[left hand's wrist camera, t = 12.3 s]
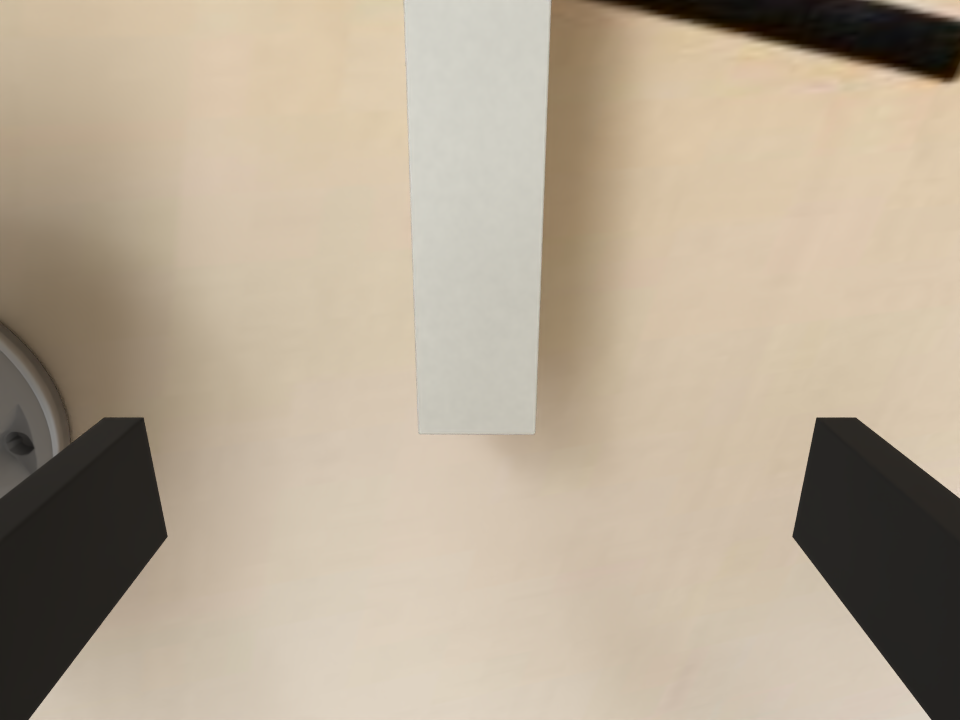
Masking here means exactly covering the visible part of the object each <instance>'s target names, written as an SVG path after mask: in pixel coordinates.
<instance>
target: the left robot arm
mask: <svg viewBox="0 0 960 720" xmlns="http://www.w3.org/2000/svg"><path fill="white" fill-rule="evenodd" d="M166 538H167V532H166V527H165V522H164V517H163V512H162V507H161V502H160V497H159V492H158V487H157V482H156V477H155V472H154V467H153V462H152V457H151V452H150V447H149V442H148V438H147V433H146V428H145V423H144V418H103V419H102V420H101V421H99V422H98V423H97V424H95V425H94V426H93V427H92V428H90V429H89V430H88V431H86V432H85V433H84V434H83V435H81V436H80V437H79V438H77V439H76V440H75V441H74V442H72V443H71V444H70V432H69V424H68V420H67V416H66V412H65V409H64V406H63V403H62V400H61V398H60V396H59V393H58V391H57V389H56V387H55V385H54V383H53V382H52V380H51V378H50V376H49V375H48V373H47V372H46V370H45V369H44V367H43V366H42V364H41V363H40V362H39V360H38V359H37V358H36V357H35V356H34V354H33V353H32V352H31V351H30V350H29V349H28V347H27V346H26V345H25V344H24V343H23V342H22V341H21V340H20V339H19V338H18V337H17V336H15V335H14V334H13V333H12V332H11V331H10V330H9V329H8V328H6V327H5V326H4V325H2V324H1V323H0V720H29V718H30V717H31V716H32V714H33V713H34V712H35V711H36V709H37V708H38V707H39V705H40V704H41V703H42V701H43V700H44V699H45V697H46V696H47V695H48V693H49V692H50V691H51V689H52V688H53V687H54V686H55V684H56V683H57V682H58V680H59V679H60V678H61V676H62V675H63V674H64V672H65V671H66V670H67V668H68V667H69V666H70V664H71V663H72V662H73V660H74V659H75V658H76V657H77V655H78V654H79V653H80V651H81V650H82V649H83V647H84V646H85V645H86V643H87V642H88V641H89V639H90V638H91V637H92V635H93V634H94V633H95V632H96V630H97V629H98V628H99V626H100V625H101V624H102V622H103V621H104V620H105V618H106V617H107V616H108V614H109V613H110V612H111V610H112V609H113V608H114V606H115V605H116V604H117V603H118V601H119V600H120V599H121V597H122V596H123V595H124V593H125V592H126V591H127V589H128V588H129V587H130V585H131V584H132V583H133V581H134V580H135V579H136V578H137V576H138V575H139V574H140V572H141V571H142V570H143V568H144V567H145V566H146V564H147V563H148V562H149V560H150V559H151V558H152V556H153V555H154V554H155V552H156V551H157V550H158V549H159V547H160V546H161V545H162V543H163V542H164V541H165V539H166ZM793 538H794V539H795V541H796V542H797V543H798V545H799V546H800V547H801V549H802V550H803V551H804V552H805V554H806V555H807V556H808V558H809V559H810V560H811V562H812V563H813V564H814V566H815V567H816V568H817V570H818V571H819V572H820V574H821V575H822V576H823V578H824V579H825V580H826V581H827V583H828V584H829V585H830V587H831V588H832V589H833V591H834V592H835V593H836V595H837V596H838V597H839V599H840V600H841V601H842V603H843V604H844V605H845V606H846V608H847V609H848V610H849V612H850V613H851V614H852V616H853V617H854V618H855V620H856V621H857V622H858V624H859V625H860V626H861V628H862V629H863V630H864V632H865V633H866V634H867V635H868V637H869V638H870V639H871V641H872V642H873V643H874V645H875V646H876V647H877V649H878V650H879V651H880V653H881V654H882V655H883V657H884V658H885V659H886V660H887V662H888V663H889V664H890V666H891V667H892V668H893V670H894V671H895V672H896V674H897V675H898V676H899V678H900V679H901V680H902V682H903V683H904V684H905V686H906V687H907V688H908V689H909V691H910V692H911V693H912V695H913V696H914V697H915V699H916V700H917V701H918V703H919V704H920V705H921V707H922V708H923V709H924V711H925V712H926V713H927V714H928V716H929V717H930V718H931V720H960V498H958V497H957V496H956V495H955V494H953V493H952V492H951V491H949V490H948V489H947V488H946V487H944V486H943V485H942V484H940V483H939V482H938V481H937V480H935V479H934V478H933V477H931V476H930V475H929V474H928V473H926V472H925V471H924V470H922V469H921V468H920V467H919V466H917V465H916V464H915V463H913V462H912V461H911V460H910V459H908V458H907V457H906V456H904V455H903V454H902V453H901V452H899V451H898V450H897V449H895V448H894V447H893V446H892V445H890V444H889V443H888V442H886V441H885V440H884V439H883V438H881V437H880V436H879V435H877V434H876V433H875V432H874V431H872V430H871V429H870V428H868V427H867V426H866V425H865V424H863V423H862V422H861V421H859V420H858V419H857V418H816V423H815V428H814V433H813V438H812V442H811V447H810V452H809V457H808V462H807V467H806V472H805V477H804V482H803V487H802V492H801V497H800V502H799V507H798V512H797V517H796V522H795V527H794V532H793Z"/></svg>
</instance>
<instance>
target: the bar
mask: <svg viewBox="0 0 960 720" xmlns="http://www.w3.org/2000/svg"><path fill="white" fill-rule="evenodd" d="M550 24H551V0H404V26H405V56H406V85H407V115H408V144H409V174H410V203H411V233H412V262H413V292H414V321H415V351H416V380H417V410H418V433H419V434H504V435H534V434H535V432H536V405H537V378H538V351H539V323H540V296H541V269H542V242H543V215H544V188H545V160H546V133H547V106H548V79H549V52H550Z"/></svg>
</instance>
